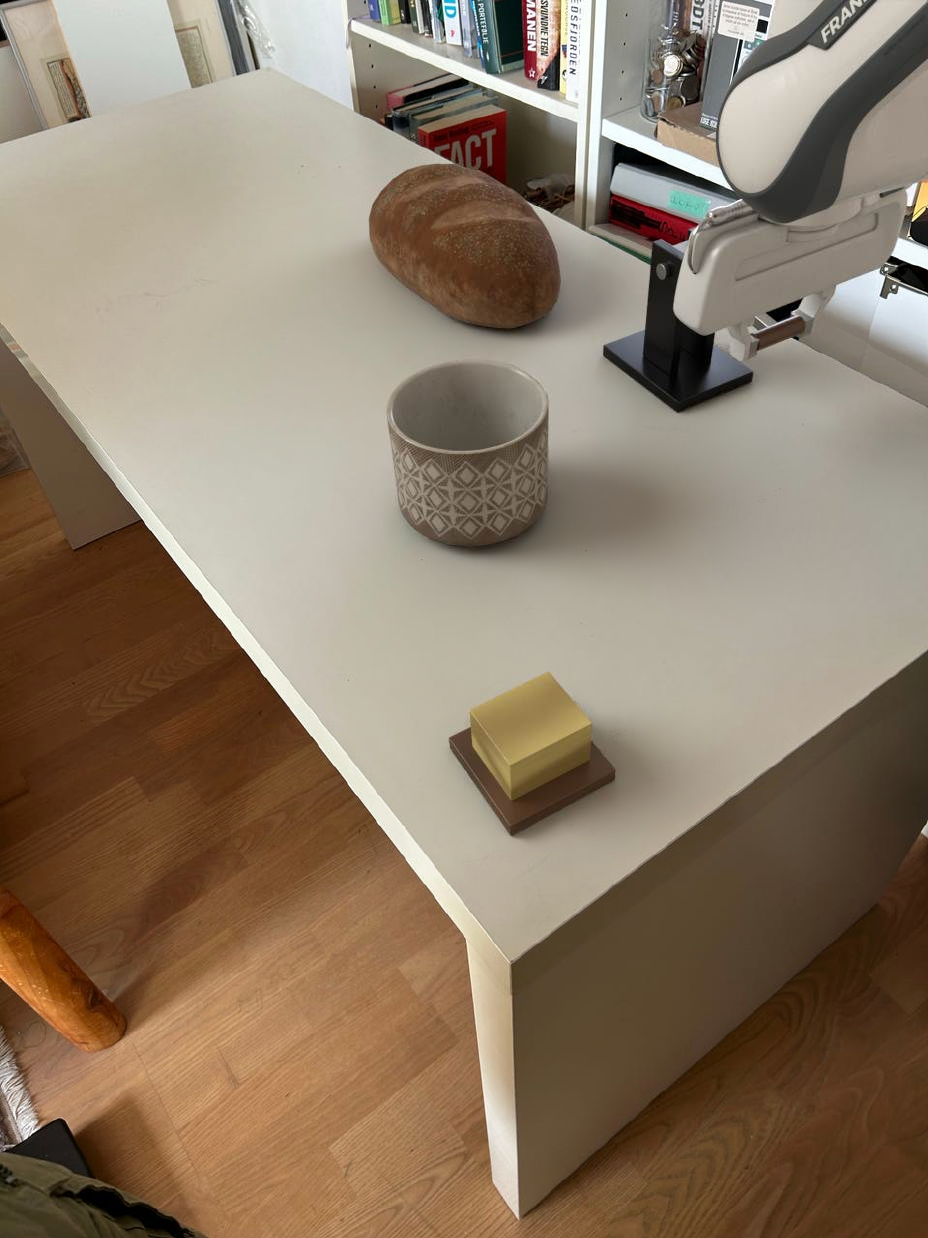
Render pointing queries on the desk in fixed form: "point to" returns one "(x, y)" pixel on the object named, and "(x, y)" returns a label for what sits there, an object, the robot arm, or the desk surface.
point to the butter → (531, 753)
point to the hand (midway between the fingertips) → (772, 344)
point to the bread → (466, 245)
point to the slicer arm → (769, 323)
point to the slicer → (674, 345)
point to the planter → (470, 450)
